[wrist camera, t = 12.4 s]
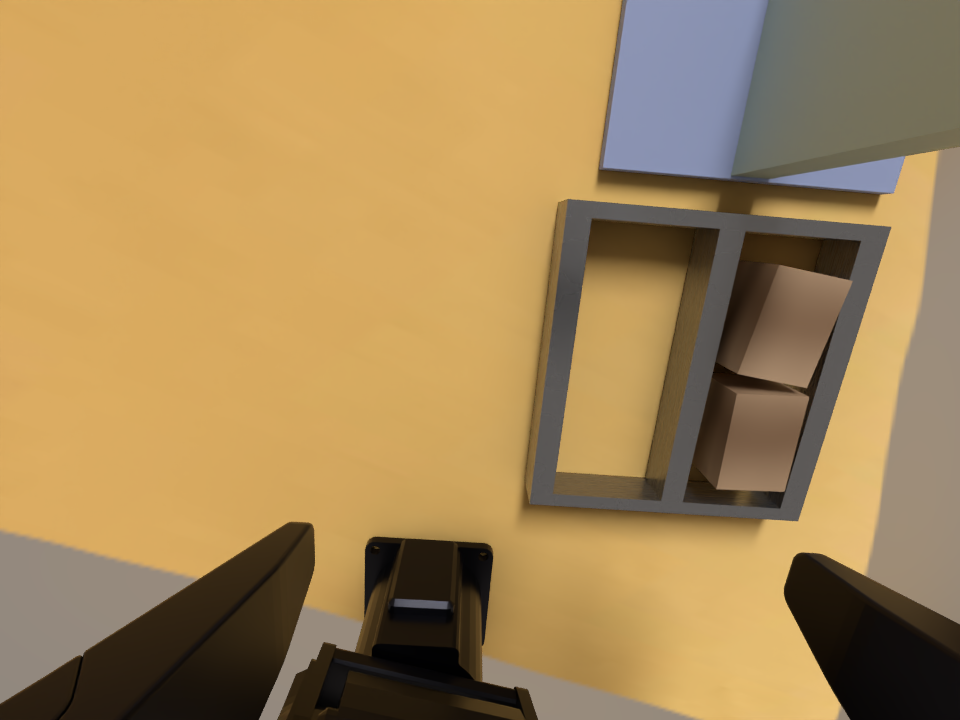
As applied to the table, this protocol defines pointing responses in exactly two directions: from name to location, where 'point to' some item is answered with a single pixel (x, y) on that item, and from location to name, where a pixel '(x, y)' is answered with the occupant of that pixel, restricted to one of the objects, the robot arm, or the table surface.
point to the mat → (699, 96)
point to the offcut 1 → (779, 321)
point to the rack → (690, 360)
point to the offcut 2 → (749, 433)
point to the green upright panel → (850, 85)
